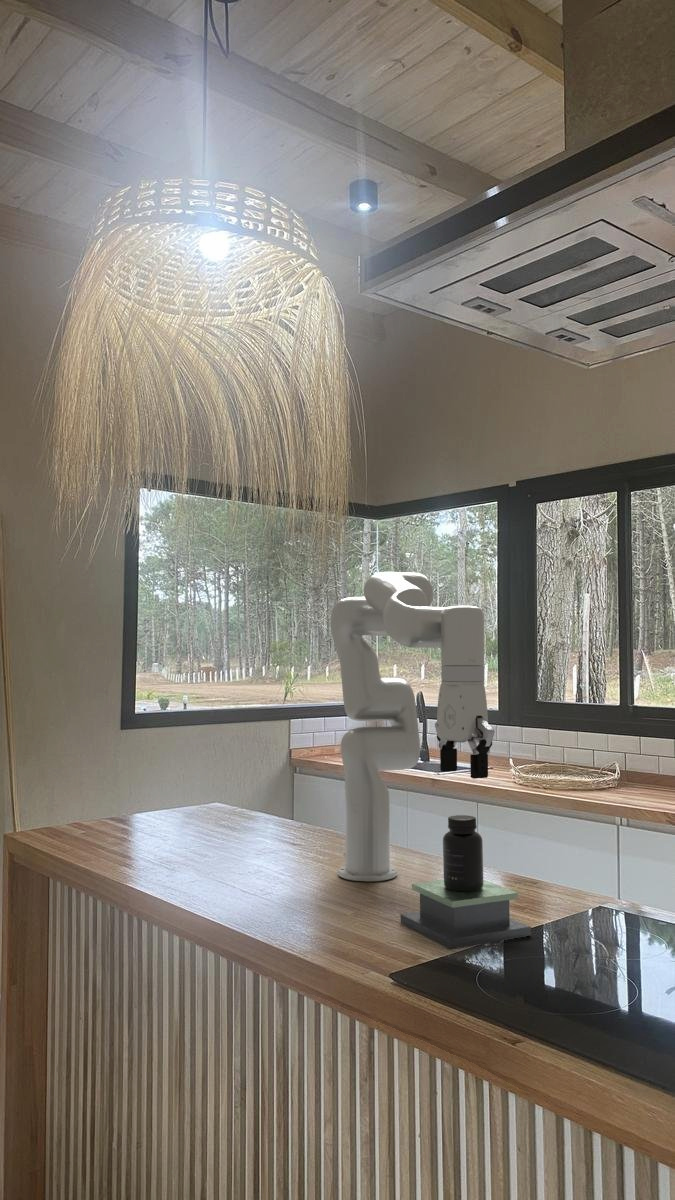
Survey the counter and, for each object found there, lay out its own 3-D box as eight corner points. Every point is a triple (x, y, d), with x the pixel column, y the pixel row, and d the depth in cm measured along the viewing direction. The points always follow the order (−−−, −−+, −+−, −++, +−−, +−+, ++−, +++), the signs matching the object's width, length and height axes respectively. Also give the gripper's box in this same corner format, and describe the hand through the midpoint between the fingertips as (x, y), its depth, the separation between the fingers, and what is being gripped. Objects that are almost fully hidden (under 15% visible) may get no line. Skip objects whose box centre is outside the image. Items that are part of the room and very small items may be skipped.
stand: (400, 923, 158) (400, 882, 159) (476, 912, 165) (476, 873, 166) (449, 949, 144) (449, 904, 145) (531, 936, 151) (530, 893, 151)
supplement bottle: (457, 880, 160) (456, 812, 161) (490, 887, 156) (490, 816, 157) (435, 888, 155) (435, 817, 156) (469, 895, 151) (469, 822, 151)
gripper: (419, 675, 165) (420, 770, 164) (472, 677, 149) (473, 782, 148) (454, 675, 168) (455, 767, 167) (509, 677, 152) (510, 779, 151)
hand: (463, 774), depth 157 cm, fingers open, 9 cm apart
